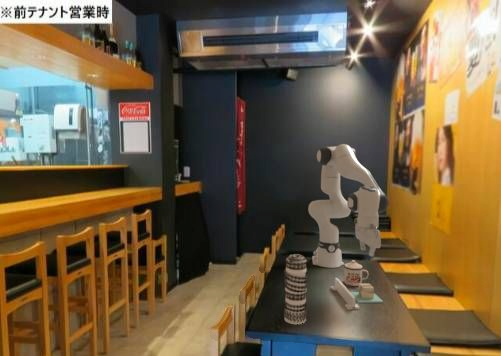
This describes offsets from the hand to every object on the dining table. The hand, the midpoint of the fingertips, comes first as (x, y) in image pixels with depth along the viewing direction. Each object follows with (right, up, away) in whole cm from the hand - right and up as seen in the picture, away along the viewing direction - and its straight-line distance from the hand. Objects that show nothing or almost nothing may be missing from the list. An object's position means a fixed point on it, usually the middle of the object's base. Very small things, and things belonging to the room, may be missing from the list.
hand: (367, 253), depth 151 cm
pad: (0, -21, +1) cm, 21 cm away
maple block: (0, -20, +1) cm, 20 cm away
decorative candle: (-35, -21, -21) cm, 46 cm away
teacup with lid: (+1, -20, +19) cm, 27 cm away
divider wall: (-10, -20, 0) cm, 23 cm away
